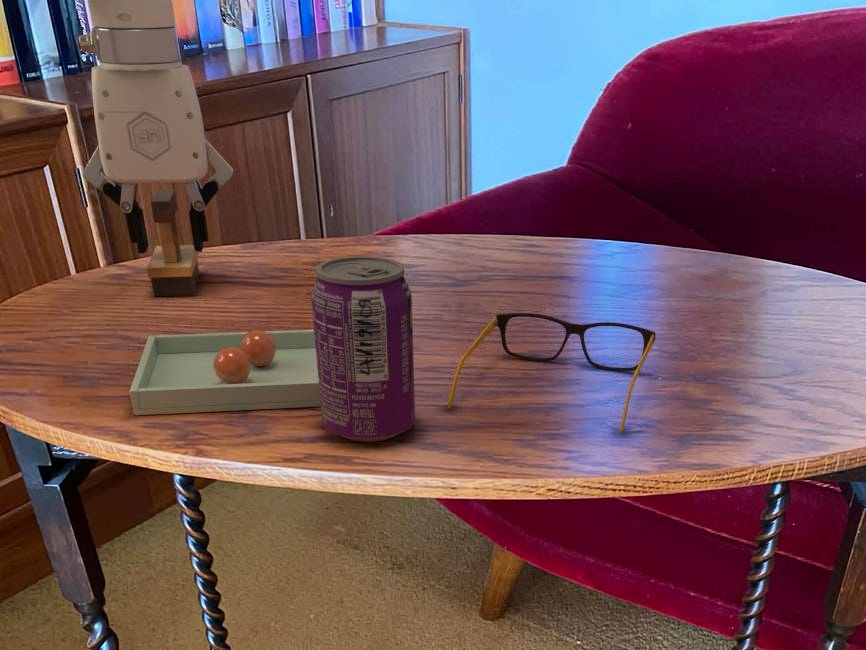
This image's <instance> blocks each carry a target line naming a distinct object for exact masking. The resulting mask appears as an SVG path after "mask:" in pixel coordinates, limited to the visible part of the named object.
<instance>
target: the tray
mask: <svg viewBox="0 0 866 650" xmlns="http://www.w3.org/2000/svg"><path fill="white" fill-rule="evenodd" d="M249 332H250V331H238V332H237V331H235V332H212V333H210V332H209V333H208V332H207V333H184V334H183V333H182V334H180V333H179V334H157V335H156V334H155V335H148V337H147V340H146V343H145V346H144V348H143V352H142V354H141V357H140V360H139V363H138V367H137V368H136V371H135V374H134V376H133V380H132V383H131V385H130V389H129V392H128V393H129V397H130V401H131V406H132V411H133V416H148V415H149V416H151V415H170V414H193V413H211V412H215V413H216V412H229V411H230V412H235V411H252V410H253V411H254V410H276V409H294V408H296V409H297V408H319V407H321V403H320V391H319V380H318V368H317V357H316V345H315V334H314V329H292V330H271V331H270V330H265V331H264V332H266V333H267V334H269V335H270V336H271V337H272V339H273V340H274V342H275V345H276V354H275V357H274V359H273V360H272V362H271V363H269V364H268V365H266V366H262V367H256V366H253V365H251V371H250V375H249V376H248V378H247V379H246V380H245V381H244V382H242V383H240V384H226V383H224V382H223V381H221V380H220V379H219V378H218V377H217V375H216V373H215V371H214V366H213V363H214V358H215V356H216V354H217V353H218V352H219V351H220V350H222V349H224V348H227V347H235V348H238V349H240V345H241V341H242V339H243V337H244V336H245V335H246V334H247V333H249Z"/></svg>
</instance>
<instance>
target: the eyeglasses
mask: <svg viewBox="0 0 866 650" xmlns="http://www.w3.org/2000/svg"><path fill="white" fill-rule="evenodd" d="M512 318H537V319H542V320H547V321H551V322H554V323H556V324H558V325H560V326H562V327H563V328H564V330H565V335H564V338H563V341H562V343H561V346H560V348H559V349H558V351H557V352H556V354H554V355H553V356H551V357H541V358H539V357H533V356H528V355H527V356H526V355H522V354H519V353H515V352H513V351H511V350H510V349H509V348H508V346H507V340H506V330H507V325H508V322H509V321H510V319H512ZM496 327H497V328H498V329H499V334H500V339H501V345H502V349H503V351H504V352H505V353H506V354H507V355H509V356H511V357H514V358H517V359H522V360H526V361H527V360H528V361H533V362H552V361H554V360H556V359H557V358H558V357H559V356H560V354H561V353H562V352H563V350H564V348H565V346H566V344H567V342H568V340H569V338H570V336H571V335H577V336H579V339H580V344H581V348H582V352H583V354H584V356H585V358H586V360H587V362H588V364H590V366H592V367H595V368H597V369H600V370H604V371H605V370H606V371H614V372H632V371H633V372H634V373H633V375H632V378H631V381H630V384H629V387H628V391H627V395H626V400H625V404H624V409H623V412H622V417H621V421H620V425H619V426H620V427H619V432H620V433H623V431H624V427H625V423H626V419H627V415H628V414H627V413H628V409H629V404H630V399H631V396H632V393H633V392H632V391H633V388H634V385H635V382H636V380H637V377H638V375H639V373H640V371H641V370H642V367H643V365H644V363H645V361H646V358H647V357H648V355H649V353H650V351H651V349H652V347H653V346H654V343H655V341H656V335H657V333H656V331H653V330H650V329H647V328H643V327H640V326H636V325H633V324H628V323H621V322H611V321H609V322H608V321H605V322H602V321H601V322H593V323H583V324H581V323H572V322H569V321H565V320H562V319H560V318H557V317H554V316H550V315H546V314H542V313H531V312H511V313H497V314H496V315H495V316H494V318H493V319H492V320H490V322H489V323H488V324H487V325H486V327H485V328H484V329H483V330H482V332H481V333H480V334H479V335H478V337H476V339H475V340H474V342H473V343H472V344H471V345H470V347H468V349H467V350H466V351H465V352H464V354H463V355H462V357H461V359H460V361H459V363H458V366H457V368H456V371H455V374H454V378H453V382H452V385H451V390H450V393H449V397H448V400H447V408H448V409H451V408H452V406H453V402H454V398H455V392H456V389H457V384H458V380H459V376H460V373H461V370H462V367H463V365H464V363H465V361H466V359H467V358H468V357H470V355H471V354H472V353H473V352H474V351H475V349H476V348H478V346H479V345H480V344H481V343H482V342H483V341H484V340H485V338H486V337H487V336H489V334H491V332H493V331H494V330H495V329H496ZM598 327H616V328H623V329H624V328H625V329H629V330H633V331H636V332H638V333H639V334H641V336H642V340H643V348H642V354H641V356H640V357H641V358H640V359H639V362H638V363H637V364H636V365H634V366H630V367H613V366H605V365H602V364H599V363H597V362H594V361H593V360H592V359H591V357H590V355H589V353H588V350H587V346H586V342H585V333H586V332H587V330H589V329H593V328H598Z"/></svg>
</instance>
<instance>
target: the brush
mask: <svg viewBox="0 0 866 650" xmlns="http://www.w3.org/2000/svg"><path fill="white" fill-rule="evenodd" d="M150 207H151V212H152V217H153V222H154V223H155V224H156V223H157V227H158V233H159V240H160V245H156V246H155V248H154V251H153V253H152V255H151V257H150V260H149V262H148V265H147V267H146V273H147V277H148V278H149V279H150V280H151V288H152V292H153V298H161V297H162V298H163V297H164V298H165V297H167V298H168V297H192V296H194V294H195V292H196V287H197V284H198V280H199V276H200V268H199V267H200V266H199V262H198V258H199V252H197V251H195V249H194V244H184V245H183V244H181V241H180V236H179V228H178V224H177V223H178V222H177V216H176V214H177V211H178V203H177V197H176V191H175V189H174V188H168V189H166V188H165V189H163V188H162V189H161V188H160V189H156V191H155V192H154V195H153V197H152V199H151V200H150Z"/></svg>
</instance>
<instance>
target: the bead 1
mask: <svg viewBox="0 0 866 650" xmlns="http://www.w3.org/2000/svg"><path fill="white" fill-rule="evenodd" d="M213 366H214V371H215V373H216V375H217V377H218V378H219V379H220V380H221V381H223V382H224V383H226V384H240V383H242V382H244V381H245V380H246V379H247V378H248V376H249V375H250V371H251V363H250V360H249V358H248V356H247V355H246V353H245V352H243V351H242V350H240V349H238V348H235V347H227V348H224V349H222V350H220V351H219V352H218V353H217V354H216V356H215V358H214V363H213Z"/></svg>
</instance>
